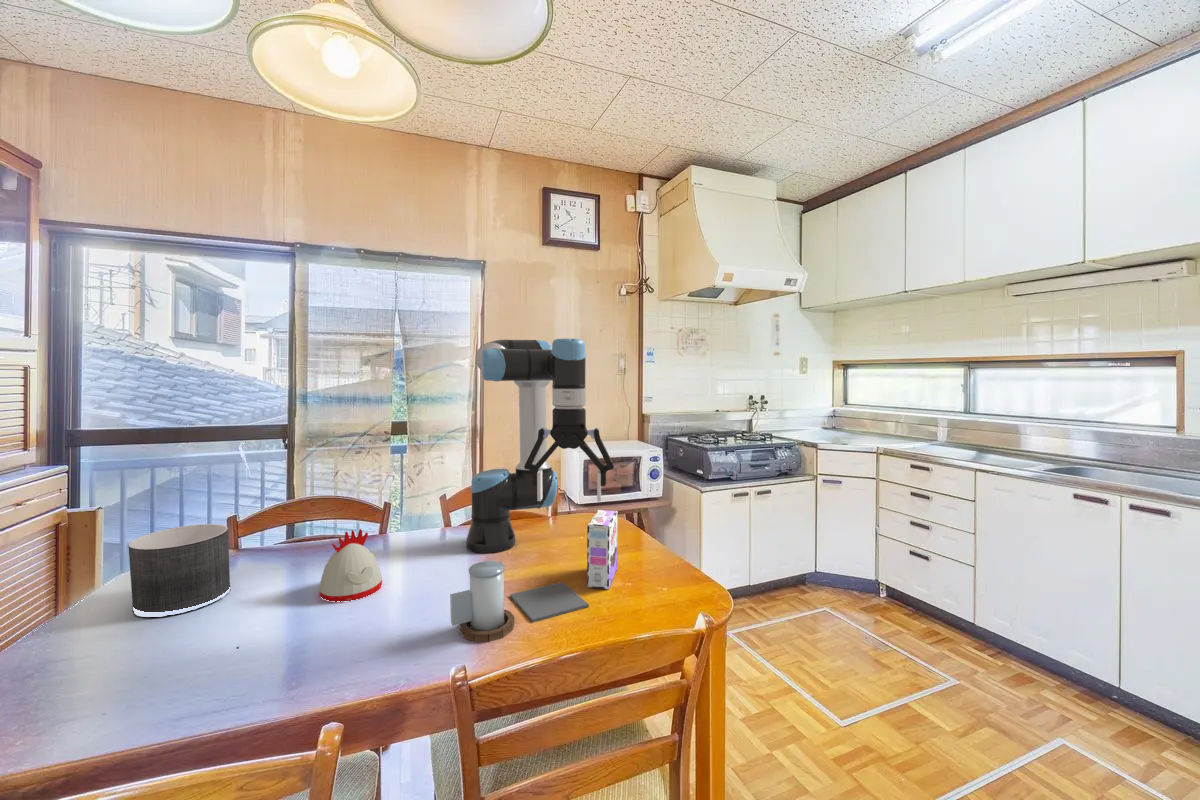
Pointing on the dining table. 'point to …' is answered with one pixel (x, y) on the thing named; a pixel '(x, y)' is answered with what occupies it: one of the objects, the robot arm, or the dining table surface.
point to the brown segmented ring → (488, 635)
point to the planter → (179, 567)
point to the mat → (548, 601)
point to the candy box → (602, 549)
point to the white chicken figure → (350, 571)
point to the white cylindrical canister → (481, 598)
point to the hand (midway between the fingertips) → (569, 499)
